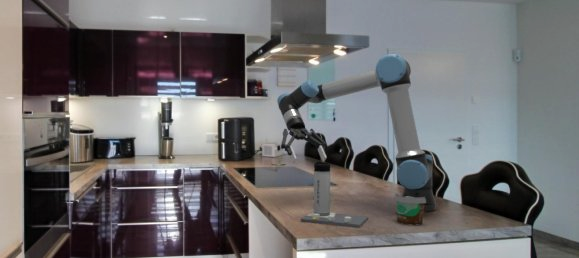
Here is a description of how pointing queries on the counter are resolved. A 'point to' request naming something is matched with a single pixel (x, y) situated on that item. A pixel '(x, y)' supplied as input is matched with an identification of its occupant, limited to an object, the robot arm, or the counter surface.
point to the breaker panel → (336, 219)
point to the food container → (409, 209)
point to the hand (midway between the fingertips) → (310, 160)
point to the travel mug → (322, 188)
